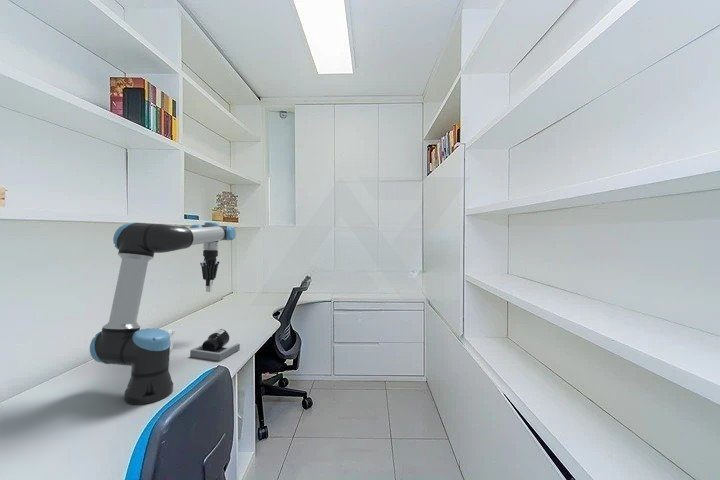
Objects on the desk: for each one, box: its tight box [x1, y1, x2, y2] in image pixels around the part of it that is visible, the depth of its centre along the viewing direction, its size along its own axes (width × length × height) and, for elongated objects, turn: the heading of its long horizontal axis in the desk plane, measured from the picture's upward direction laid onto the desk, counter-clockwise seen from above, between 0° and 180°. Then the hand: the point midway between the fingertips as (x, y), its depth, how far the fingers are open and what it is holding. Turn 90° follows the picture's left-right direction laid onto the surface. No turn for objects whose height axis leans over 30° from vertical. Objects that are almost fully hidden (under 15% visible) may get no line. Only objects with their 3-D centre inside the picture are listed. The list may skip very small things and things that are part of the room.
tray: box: [189, 342, 241, 363], centre depth 157 cm, size 16×16×4 cm
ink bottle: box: [201, 328, 230, 352], centre depth 161 cm, size 10×9×12 cm
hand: (208, 291), depth 174 cm, fingers closed
